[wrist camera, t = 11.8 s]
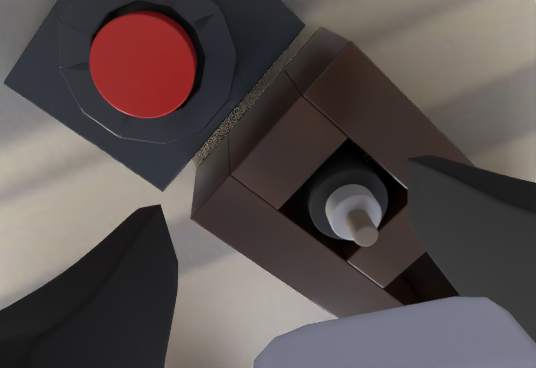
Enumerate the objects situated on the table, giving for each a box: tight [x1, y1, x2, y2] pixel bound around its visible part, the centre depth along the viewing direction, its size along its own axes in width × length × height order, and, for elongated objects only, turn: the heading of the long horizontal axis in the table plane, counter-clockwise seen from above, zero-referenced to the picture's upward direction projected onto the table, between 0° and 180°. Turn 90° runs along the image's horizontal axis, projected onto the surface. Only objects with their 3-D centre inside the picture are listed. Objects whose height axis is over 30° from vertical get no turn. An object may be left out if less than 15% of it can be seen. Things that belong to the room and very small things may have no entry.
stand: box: [190, 27, 477, 319], centre depth 21 cm, size 9×16×5 cm, turn 48°
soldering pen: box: [300, 138, 388, 246], centre depth 19 cm, size 3×3×8 cm
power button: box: [90, 10, 197, 118], centre depth 16 cm, size 4×4×2 cm
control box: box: [4, 0, 305, 192], centre depth 18 cm, size 10×8×3 cm
